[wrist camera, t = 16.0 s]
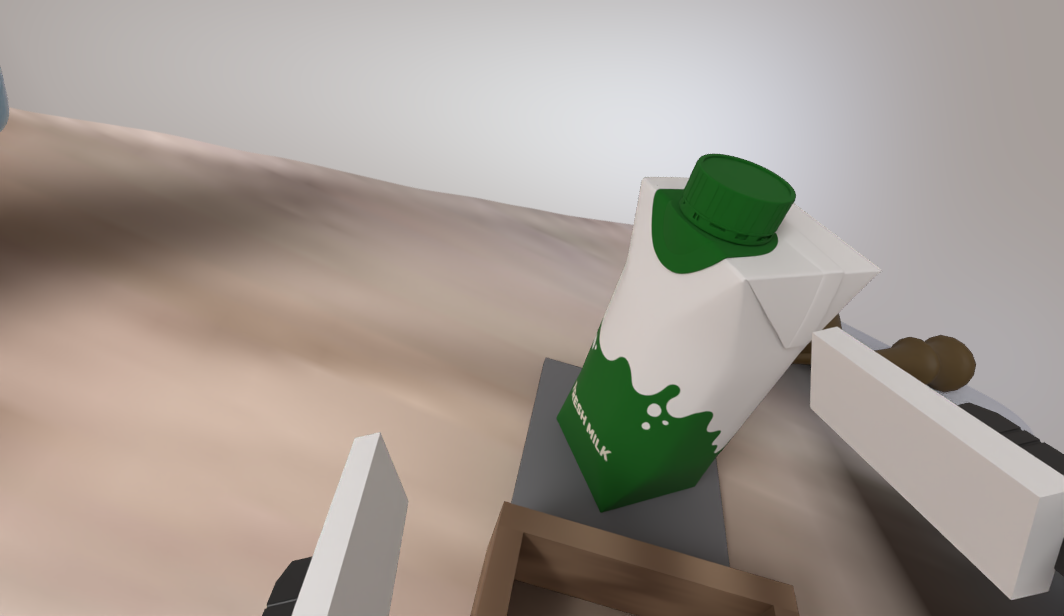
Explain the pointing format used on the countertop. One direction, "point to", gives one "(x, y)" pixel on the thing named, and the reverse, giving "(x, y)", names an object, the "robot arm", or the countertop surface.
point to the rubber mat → (564, 493)
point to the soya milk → (701, 325)
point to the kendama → (921, 359)
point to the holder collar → (616, 572)
